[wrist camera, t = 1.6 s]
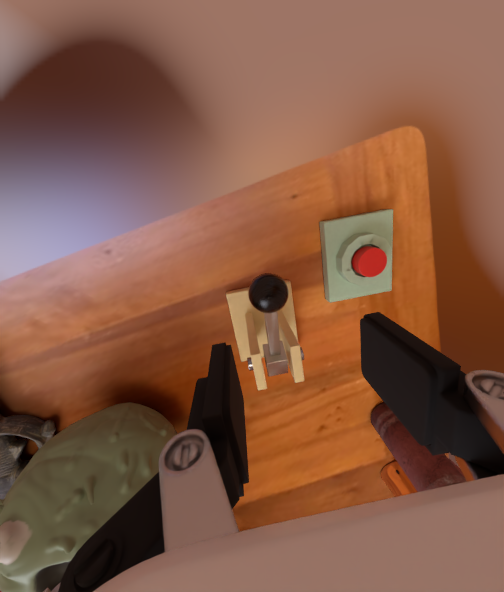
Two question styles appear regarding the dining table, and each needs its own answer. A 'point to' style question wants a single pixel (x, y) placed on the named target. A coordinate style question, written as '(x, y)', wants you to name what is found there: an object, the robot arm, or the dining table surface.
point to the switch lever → (271, 318)
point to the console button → (369, 261)
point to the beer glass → (397, 480)
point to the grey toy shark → (19, 445)
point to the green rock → (75, 491)
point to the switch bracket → (264, 334)
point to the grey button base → (343, 245)
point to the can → (414, 453)
